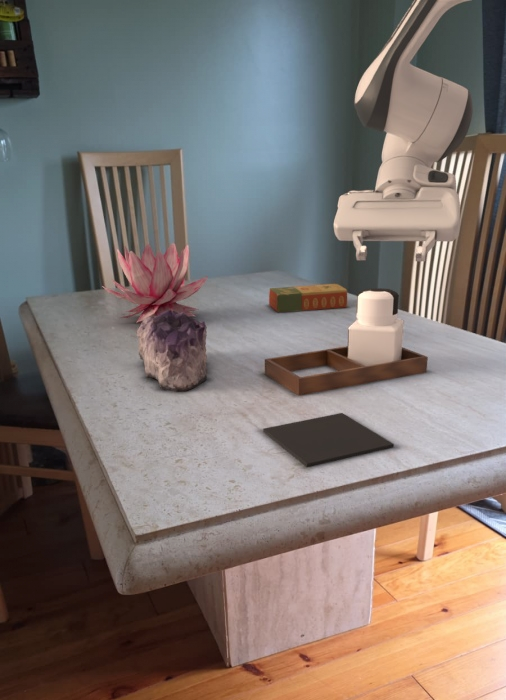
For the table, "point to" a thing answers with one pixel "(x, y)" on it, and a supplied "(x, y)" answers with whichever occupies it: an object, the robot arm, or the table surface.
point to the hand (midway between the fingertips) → (389, 258)
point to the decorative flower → (157, 282)
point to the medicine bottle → (376, 328)
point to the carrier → (338, 370)
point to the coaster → (326, 439)
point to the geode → (173, 350)
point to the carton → (307, 297)
